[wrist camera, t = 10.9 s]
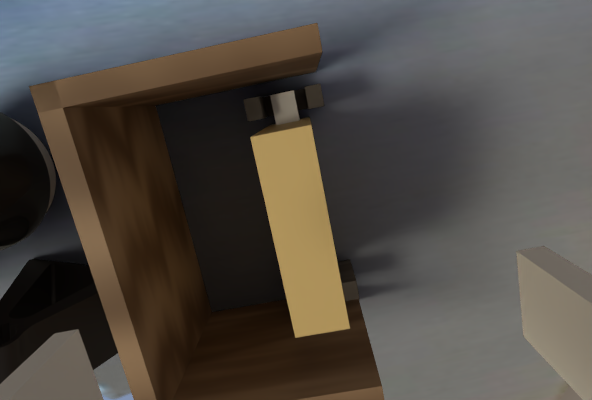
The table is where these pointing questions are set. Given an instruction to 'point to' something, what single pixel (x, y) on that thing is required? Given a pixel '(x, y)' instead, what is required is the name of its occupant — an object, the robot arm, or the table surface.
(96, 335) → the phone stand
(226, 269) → the table surface
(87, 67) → the table surface
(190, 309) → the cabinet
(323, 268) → the yellow rectangular block
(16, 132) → the pump dispenser
